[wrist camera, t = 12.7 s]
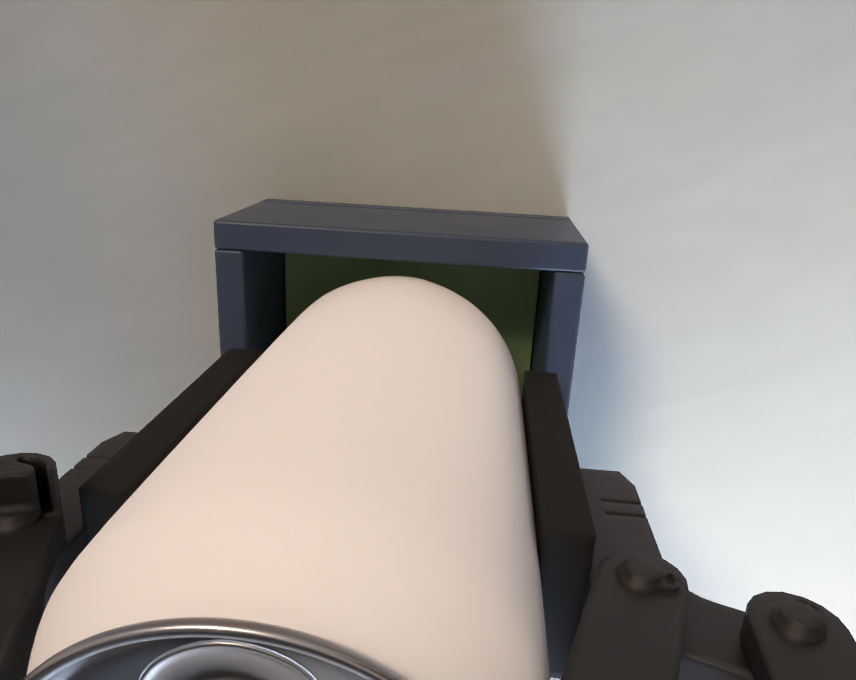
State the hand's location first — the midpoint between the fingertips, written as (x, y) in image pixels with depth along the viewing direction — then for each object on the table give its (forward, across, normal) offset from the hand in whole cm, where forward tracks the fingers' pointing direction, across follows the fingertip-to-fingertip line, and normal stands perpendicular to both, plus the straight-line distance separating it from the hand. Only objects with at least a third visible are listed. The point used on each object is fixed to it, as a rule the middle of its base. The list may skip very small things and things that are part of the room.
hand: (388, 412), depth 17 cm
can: (+2, 0, 0) cm, 2 cm away
